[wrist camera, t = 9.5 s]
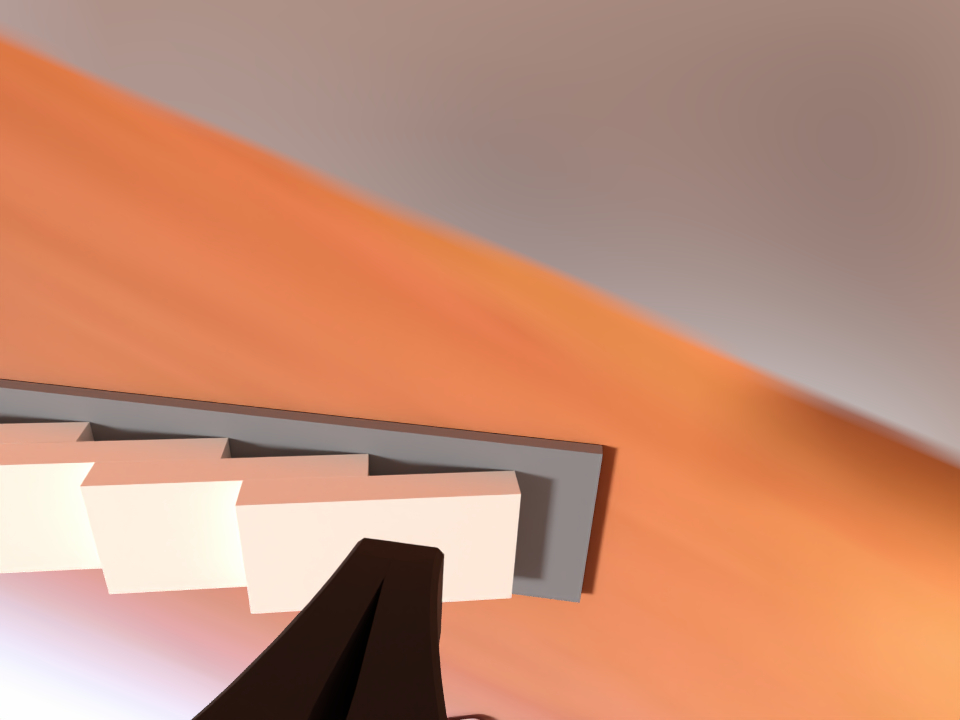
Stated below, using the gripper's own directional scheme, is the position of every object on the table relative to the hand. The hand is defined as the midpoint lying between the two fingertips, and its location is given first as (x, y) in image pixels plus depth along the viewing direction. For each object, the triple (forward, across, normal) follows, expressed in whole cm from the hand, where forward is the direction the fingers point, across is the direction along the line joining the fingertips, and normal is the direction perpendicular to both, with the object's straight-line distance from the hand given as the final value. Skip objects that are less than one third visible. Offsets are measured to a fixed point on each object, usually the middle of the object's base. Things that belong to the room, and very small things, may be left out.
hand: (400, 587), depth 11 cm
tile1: (+9, -2, +7) cm, 12 cm away
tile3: (+9, +8, +7) cm, 14 cm away
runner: (+10, +8, +7) cm, 15 cm away
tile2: (+9, +3, +7) cm, 12 cm away
